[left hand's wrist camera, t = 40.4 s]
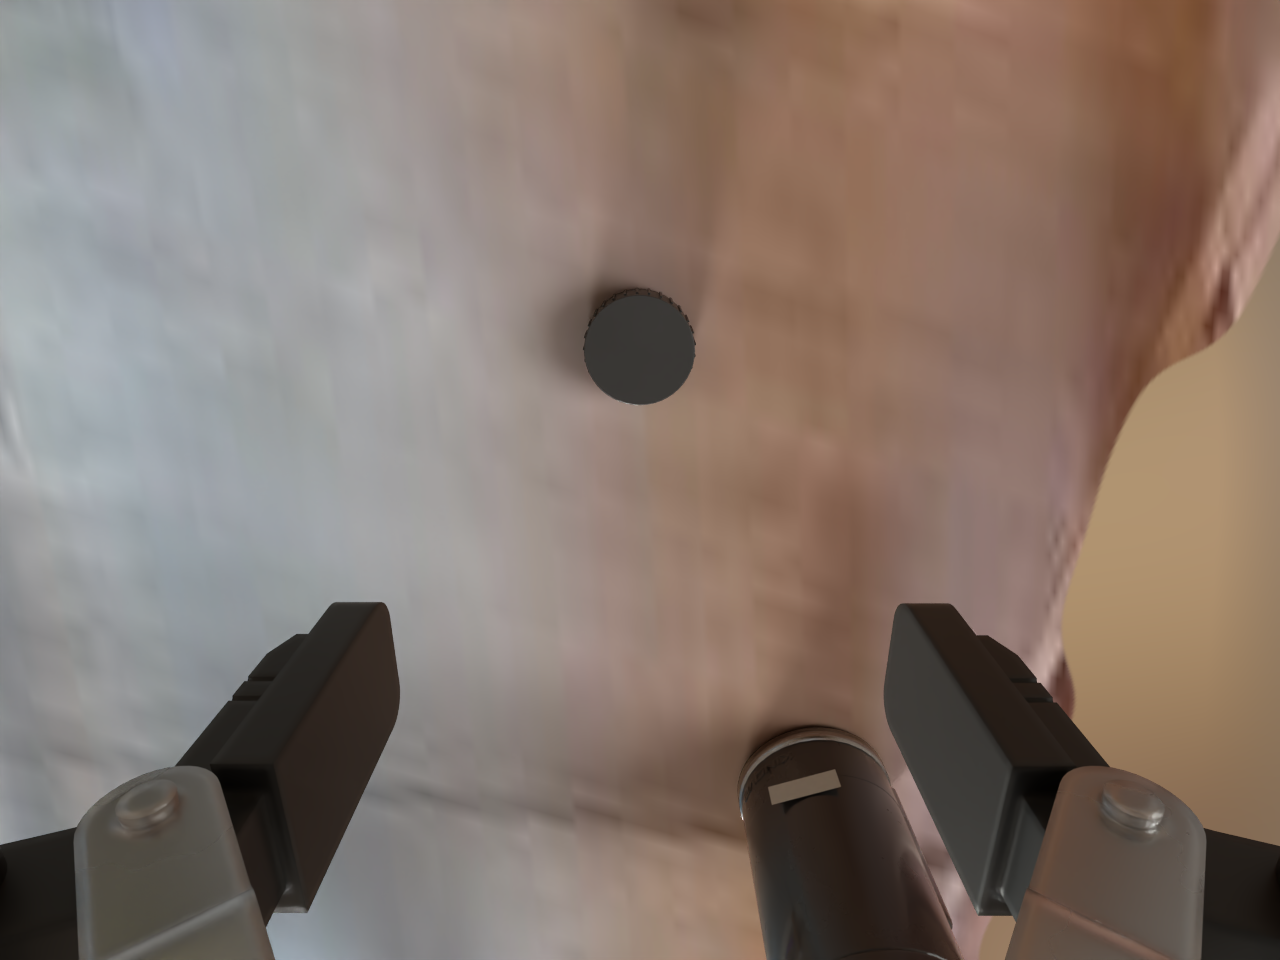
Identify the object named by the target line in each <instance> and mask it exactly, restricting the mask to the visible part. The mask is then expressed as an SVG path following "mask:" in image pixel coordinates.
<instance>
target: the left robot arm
mask: <svg viewBox="0 0 1280 960" xmlns="http://www.w3.org/2000/svg"><path fill="white" fill-rule="evenodd" d="M399 701H400V685H399V677H398V670H397V663H396V656H395V649H394V642H393V635H392V628H391V621H390V615H389V611H388V608H387V606H386V605H385V604H384V603H382V602H335V603H333V604H331V605H330V606H329V608H328V609H327V610H326V612H325V613H324V614H323V616H322V617H321V618H320V619H319V621H318V622H317V623H316V625H315V626H314V627H313V629H312V630H311V631H310V633H309V634H296V635H294V636H293V637H291V638H290V639H288V640H287V641H285V642H284V643H282V644H281V645H279V646H278V647H276V648H275V649H273V650H272V651H270V652H269V653H267V654H266V656H265V657H264V658H263V659H262V660H261V662H260V663H259V664H258V665H257V667H256V668H255V669H254V670H253V671H252V673H251V674H250V675H249V676H248V681H244V682H243V684H242V685H241V686H240V687H239V689H238V690H237V691H236V692H235V693H234V695H233V699H232V701H228V702H227V703H226V704H225V706H224V707H223V708H222V709H221V711H220V712H219V713H218V714H217V715H216V717H215V718H214V719H213V720H212V722H211V723H210V724H209V725H208V726H207V728H206V729H205V730H204V731H203V733H202V734H201V735H200V736H199V737H198V739H197V740H196V741H195V742H194V744H193V745H192V746H191V747H190V748H189V750H188V751H187V752H186V753H185V755H184V756H183V757H182V758H181V759H180V761H179V762H178V763H177V764H176V766H175V767H169V768H164V769H160V770H156V771H153V772H150V773H147V774H144V775H141V776H139V777H137V778H134V779H132V780H130V781H128V782H126V783H124V784H122V785H120V786H119V787H117V788H116V789H114V790H112V791H111V792H109V793H108V794H107V795H105V796H104V797H103V798H101V799H100V800H99V801H98V802H97V803H96V804H94V805H93V806H92V807H91V808H90V809H89V810H88V812H87V813H86V814H85V815H84V816H83V818H82V819H81V821H80V823H79V824H78V826H77V827H75V828H71V829H67V830H63V831H58V832H54V833H50V834H46V835H41V836H37V837H33V838H28V839H24V840H20V841H15V842H11V843H7V844H2V845H0V960H275V958H274V954H273V951H272V948H271V944H270V941H269V938H268V935H267V931H266V926H267V924H268V922H269V920H270V918H271V916H272V914H273V913H307V912H308V910H309V908H310V906H311V904H312V902H313V900H314V897H315V895H316V893H317V891H318V889H319V887H320V884H321V882H322V880H323V878H324V876H325V874H326V872H327V869H328V867H329V865H330V863H331V861H332V859H333V857H334V854H335V852H336V850H337V848H338V846H339V844H340V842H341V839H342V837H343V835H344V833H345V831H346V829H347V826H348V824H349V822H350V820H351V818H352V816H353V814H354V811H355V809H356V807H357V805H358V803H359V801H360V799H361V796H362V794H363V792H364V790H365V788H366V786H367V784H368V781H369V779H370V777H371V775H372V773H373V771H374V768H375V766H376V764H377V762H378V760H379V758H380V756H381V753H382V751H383V749H384V747H385V745H386V743H387V741H388V738H389V736H390V734H391V732H392V730H393V728H394V725H395V722H396V719H397V715H398V710H399ZM884 706H885V713H886V718H887V722H888V725H889V727H890V730H891V732H892V734H893V736H894V738H895V740H896V742H897V745H898V747H899V749H900V751H901V753H902V755H903V757H904V759H905V762H906V764H907V766H908V768H909V770H910V772H911V774H912V776H913V779H914V781H915V783H916V785H917V787H918V789H919V791H920V793H921V796H922V798H923V800H924V802H925V804H926V806H927V808H928V810H929V812H930V815H931V817H932V819H933V821H934V823H935V825H936V827H937V829H938V832H939V834H940V836H941V838H942V840H943V842H944V844H945V846H946V849H947V851H948V853H949V855H950V857H951V859H952V861H953V863H954V866H955V868H956V870H957V872H958V874H959V876H960V878H961V880H962V883H963V885H964V887H965V889H966V891H967V893H968V895H969V897H970V900H971V902H972V904H973V906H974V908H975V910H976V912H977V914H978V916H1013V917H1014V919H1015V921H1016V925H1015V928H1014V931H1013V935H1012V938H1011V941H1010V944H1009V948H1008V951H1007V954H1006V958H1005V960H1280V846H1277V845H1273V844H1268V843H1264V842H1259V841H1255V840H1251V839H1247V838H1242V837H1238V836H1234V835H1229V834H1225V833H1221V832H1217V831H1212V830H1209V829H1205V828H1203V826H1202V824H1201V823H1200V821H1199V819H1198V818H1197V816H1196V815H1195V814H1194V813H1193V812H1192V810H1191V809H1190V808H1189V807H1188V806H1187V805H1186V804H1184V803H1183V802H1182V801H1181V800H1180V799H1179V798H1177V797H1176V796H1175V795H1173V794H1172V793H1171V792H1169V791H1168V790H1166V789H1164V788H1163V787H1161V786H1160V785H1158V784H1156V783H1154V782H1152V781H1150V780H1148V779H1146V778H1143V777H1141V776H1139V775H1136V774H1133V773H1130V772H1127V771H1124V770H1120V769H1116V768H1111V767H1110V766H1109V765H1108V764H1107V763H1106V762H1105V761H1104V759H1103V758H1102V757H1101V756H1100V754H1099V753H1098V752H1097V751H1096V750H1095V748H1094V747H1093V746H1092V745H1091V744H1090V742H1089V741H1088V740H1087V739H1086V737H1085V736H1084V735H1083V734H1082V733H1081V731H1080V730H1079V729H1078V728H1077V727H1076V725H1075V724H1074V723H1073V722H1072V720H1071V719H1070V718H1069V717H1068V716H1067V714H1066V713H1065V712H1064V711H1063V710H1062V708H1061V707H1060V706H1059V705H1058V704H1057V703H1053V697H1052V696H1051V695H1050V694H1049V693H1048V691H1047V690H1046V689H1045V688H1044V687H1043V685H1042V684H1041V683H1037V678H1036V677H1035V676H1034V674H1033V673H1032V672H1031V671H1030V670H1029V668H1028V667H1027V666H1026V665H1025V664H1024V662H1023V661H1022V660H1021V659H1020V658H1019V656H1018V655H1016V654H1015V653H1013V652H1012V651H1010V650H1009V649H1007V648H1006V647H1004V646H1003V645H1001V644H1000V643H998V642H997V641H995V640H994V639H992V638H991V637H989V636H988V635H975V633H974V632H973V631H972V629H971V628H970V627H969V625H968V624H967V623H966V622H965V620H964V619H963V618H962V616H961V615H960V614H959V612H958V611H957V610H956V609H955V607H954V606H953V605H951V604H945V603H943V604H900V605H899V606H898V607H897V609H896V612H895V615H894V621H893V628H892V635H891V642H890V649H889V656H888V662H887V669H886V676H885V683H884ZM738 799H739V805H740V811H741V815H742V818H743V820H744V826H745V832H746V838H747V845H748V852H749V858H750V864H751V870H752V876H753V881H754V887H755V893H756V899H757V905H758V911H759V917H760V923H761V929H762V935H763V941H764V947H765V953H766V958H767V960H964V958H963V956H962V954H961V951H960V949H959V947H958V944H957V942H956V939H955V937H954V935H953V932H952V920H951V918H950V915H949V913H948V911H947V909H946V906H945V904H944V902H943V899H942V897H941V895H940V892H939V890H938V888H937V885H936V883H935V881H934V878H933V876H932V874H931V871H930V869H929V867H928V864H927V862H926V860H925V858H924V855H923V853H922V851H921V848H920V846H919V844H918V841H917V839H916V837H915V834H914V832H913V830H912V827H911V825H910V823H909V820H908V818H907V816H906V813H905V811H904V809H903V807H902V804H901V802H900V800H899V797H898V795H897V793H896V790H895V789H893V788H892V787H891V785H890V780H889V777H888V774H887V772H886V770H885V767H884V765H883V763H882V761H881V759H880V757H879V756H878V754H877V753H876V751H875V750H874V749H873V748H872V747H871V746H870V745H869V744H867V743H866V742H865V741H864V740H862V739H860V738H859V737H857V736H855V735H853V734H850V733H848V732H845V731H841V730H837V729H832V728H818V727H815V728H804V729H799V730H794V731H791V732H787V733H785V734H782V735H780V736H778V737H775V738H773V739H772V740H770V741H768V742H767V743H765V744H764V745H763V746H761V747H760V748H759V749H758V750H757V751H755V753H754V754H753V755H752V756H751V757H750V758H749V759H748V761H747V762H746V764H745V766H744V767H743V769H742V771H741V774H740V777H739V781H738Z"/></svg>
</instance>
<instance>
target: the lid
mask: <svg viewBox="0 0 1280 960" xmlns="http://www.w3.org/2000/svg"><path fill="white" fill-rule="evenodd" d="M688 322H689V320H688V317H687V315H684V313H683V312H682V309H681V307H680V305H679V306H677V305H676V304H675V303H674V302H673V301H672V298H667V297H666V296H664V295H662V293H661V292H659V293H657V292H654V291H650V289H648V290H641V289H638V288H636V290H629V291H627V290H624V292H622V293H619V294H617V295H616V294H614V295H613V297H612V298H610V299H609V300H607V301H604V302H603V305H602V306H601V307H600V308H599V309H596V311H595V313H594V317H593V319H590V322H589V324H588V327H589V329H588V330H587V331H586V334H585V336H584V338H585V345H584V347H583V350H584V355H585V362H586V366H587V368H588V372H589V373H590V375H591V377H592V379H593V380H594V382H595V383H596V385H597V386H598V387H599V388H600V389H601V390H602V391H603V392H604V393H606V394H607V395H608V396H610V397H612V398H613V399H615V400H618V401H620V402H623V403H626V404H632V405H648V404H653V403H656V402H659V401H662V400H664V399H666V398H668V397H669V396H671V395H672V394H674V393H675V392H676V391H677V390H678V389H679V388H680V387H681V386H682V385H683V383H684V382H685V381H686V379H687V377H688V375H689V373H690V372H691V369H692V366H693V362H694V357H695V345H696V343H695V340H694V337H693V333H694V332H693V329H692V327H691V326H689V323H688Z"/></svg>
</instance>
